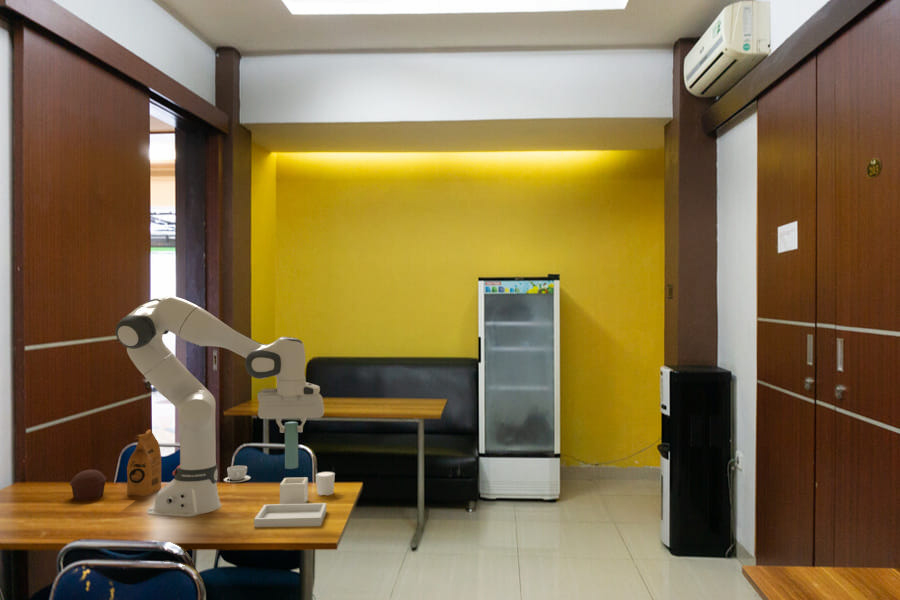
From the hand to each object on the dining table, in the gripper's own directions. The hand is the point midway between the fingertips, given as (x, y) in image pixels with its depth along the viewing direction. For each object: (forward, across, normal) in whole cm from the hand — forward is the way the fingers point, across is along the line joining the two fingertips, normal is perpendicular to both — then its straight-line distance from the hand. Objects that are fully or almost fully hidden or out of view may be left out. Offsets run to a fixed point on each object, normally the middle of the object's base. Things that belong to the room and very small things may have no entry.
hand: (291, 432), depth 201 cm
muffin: (+28, -75, +27) cm, 84 cm away
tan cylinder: (+28, +7, +28) cm, 40 cm away
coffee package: (+28, -58, +33) cm, 73 cm away
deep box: (+28, -2, +16) cm, 32 cm away
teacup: (+28, -30, +48) cm, 63 cm away
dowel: (+11, 0, 0) cm, 11 cm away
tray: (+28, 0, 0) cm, 28 cm away
